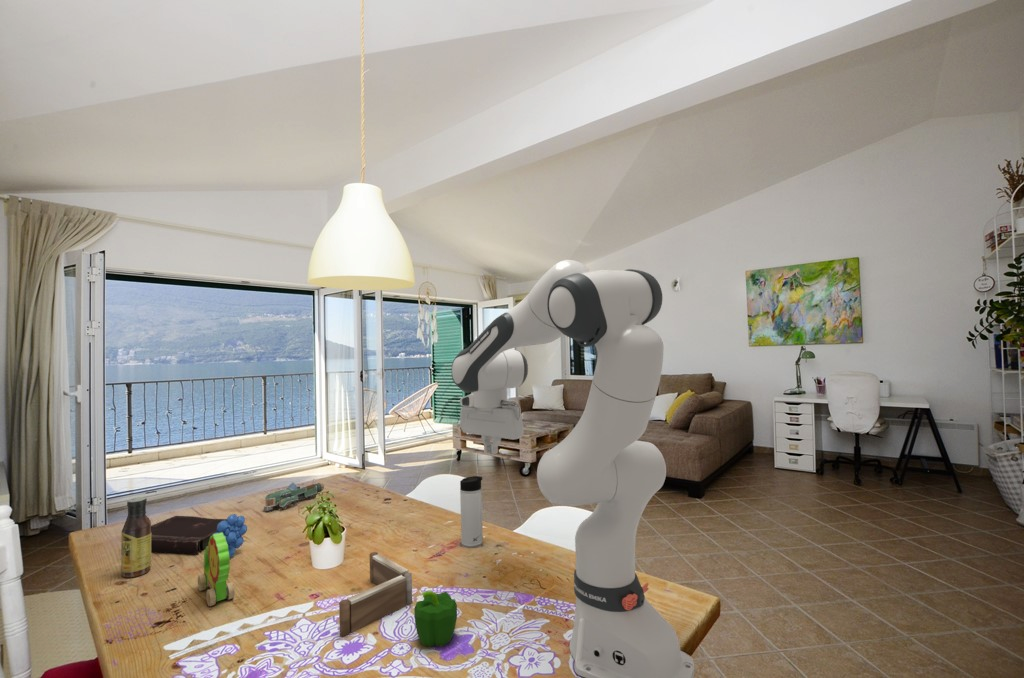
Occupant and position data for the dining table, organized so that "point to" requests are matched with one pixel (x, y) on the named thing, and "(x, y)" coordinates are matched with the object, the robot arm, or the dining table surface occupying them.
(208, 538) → the diary
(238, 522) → the grapes
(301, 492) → the hoverbike
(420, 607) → the bell pepper
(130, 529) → the sauce bottle
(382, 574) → the hinged panel
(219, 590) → the toy lion
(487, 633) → the dining table surface
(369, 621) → the fixed fence
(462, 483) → the travel mug
